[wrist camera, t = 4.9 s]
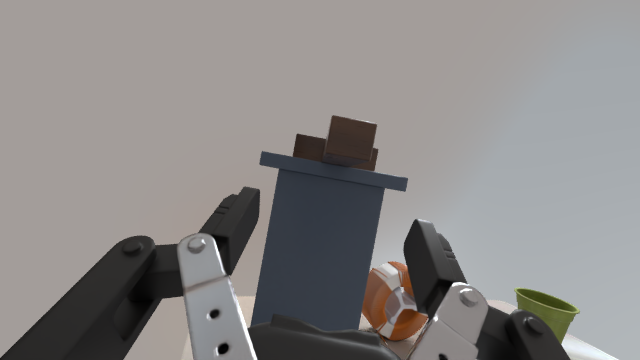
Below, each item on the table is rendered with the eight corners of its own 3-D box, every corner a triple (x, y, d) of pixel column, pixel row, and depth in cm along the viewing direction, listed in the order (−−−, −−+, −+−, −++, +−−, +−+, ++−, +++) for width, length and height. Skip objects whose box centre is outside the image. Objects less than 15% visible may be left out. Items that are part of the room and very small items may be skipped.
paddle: (423, 171, 16) (432, 125, 16) (271, 142, 16) (279, 96, 16) (359, 173, 40) (363, 155, 40) (298, 162, 40) (301, 144, 40)
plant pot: (516, 325, 69) (524, 285, 69) (576, 354, 59) (585, 308, 59) (498, 333, 63) (506, 289, 63) (562, 368, 53) (572, 316, 53)
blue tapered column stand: (353, 468, 27) (408, 178, 27) (209, 439, 28) (261, 151, 27) (343, 369, 41) (379, 177, 41) (248, 351, 42) (282, 160, 41)
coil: (352, 323, 55) (364, 257, 55) (410, 324, 59) (422, 262, 59) (366, 345, 49) (380, 270, 48) (430, 345, 53) (443, 275, 52)
